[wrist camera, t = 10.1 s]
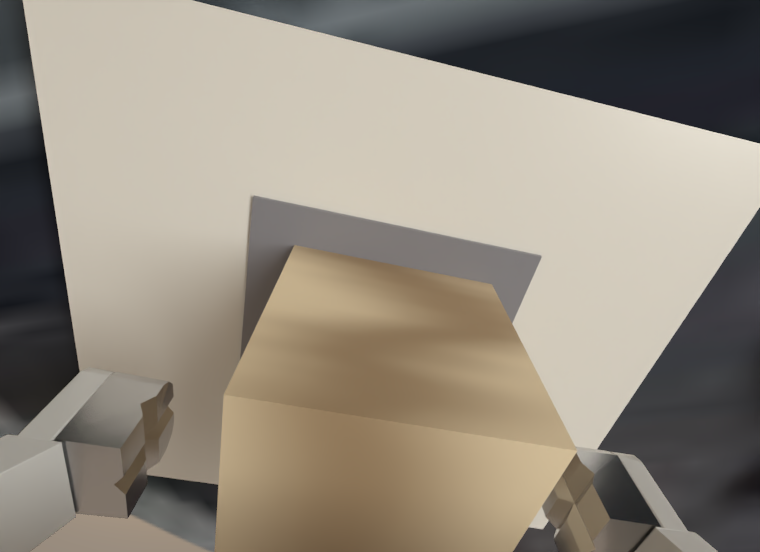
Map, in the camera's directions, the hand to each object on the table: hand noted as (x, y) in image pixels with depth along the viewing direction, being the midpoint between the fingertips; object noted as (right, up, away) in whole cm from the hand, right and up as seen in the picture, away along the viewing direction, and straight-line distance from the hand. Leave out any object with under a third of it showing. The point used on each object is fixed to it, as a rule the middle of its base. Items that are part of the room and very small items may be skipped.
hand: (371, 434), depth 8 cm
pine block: (0, +1, +3) cm, 3 cm away
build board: (0, +2, +4) cm, 4 cm away
